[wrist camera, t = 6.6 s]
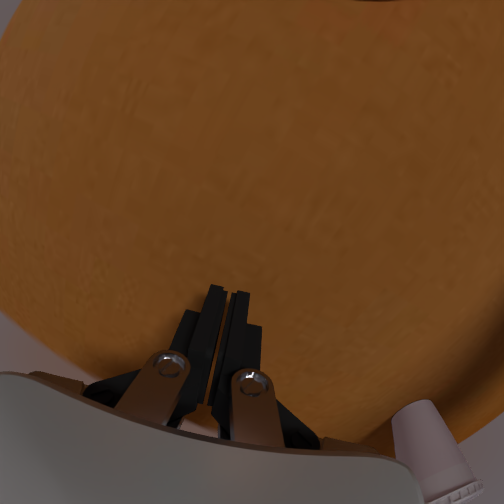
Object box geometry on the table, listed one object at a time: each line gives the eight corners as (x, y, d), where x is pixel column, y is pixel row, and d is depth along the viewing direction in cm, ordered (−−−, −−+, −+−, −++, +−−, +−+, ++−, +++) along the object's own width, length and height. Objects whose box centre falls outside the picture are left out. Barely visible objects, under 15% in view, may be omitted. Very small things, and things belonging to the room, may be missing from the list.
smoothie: (398, 439, 19) (424, 565, 6) (360, 425, 18) (383, 584, 5) (456, 399, 17) (503, 529, 4) (429, 378, 15) (487, 548, 3)
